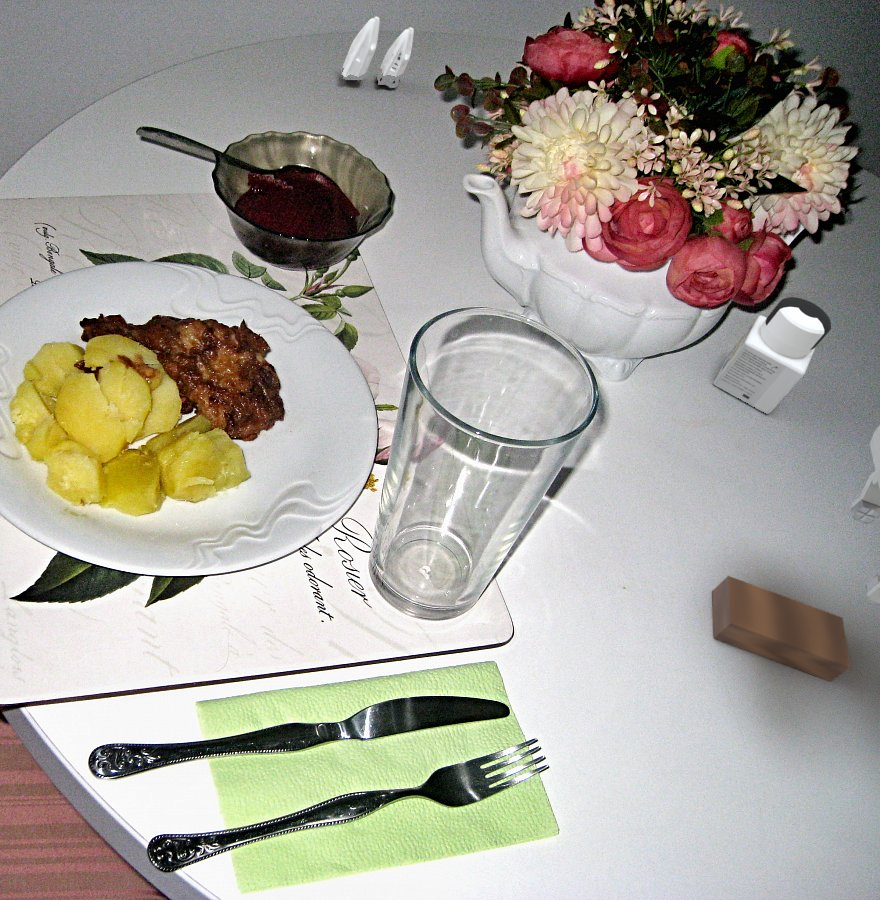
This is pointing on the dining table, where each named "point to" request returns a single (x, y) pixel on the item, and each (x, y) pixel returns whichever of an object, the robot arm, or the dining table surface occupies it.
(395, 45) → the shaker set
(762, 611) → the wooden brick
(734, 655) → the dining table surface
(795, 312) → the container
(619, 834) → the dining table surface
